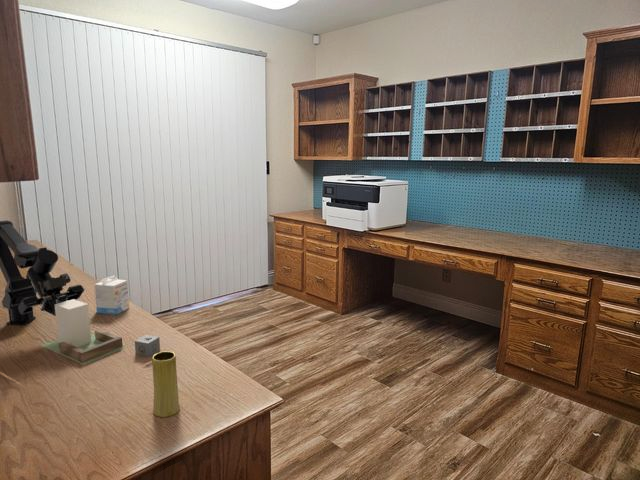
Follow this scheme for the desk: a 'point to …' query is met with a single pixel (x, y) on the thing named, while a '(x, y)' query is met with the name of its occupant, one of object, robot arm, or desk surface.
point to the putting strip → (55, 347)
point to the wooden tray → (85, 355)
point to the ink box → (111, 295)
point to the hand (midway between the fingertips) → (64, 319)
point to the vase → (165, 384)
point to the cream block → (73, 322)
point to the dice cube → (147, 345)
